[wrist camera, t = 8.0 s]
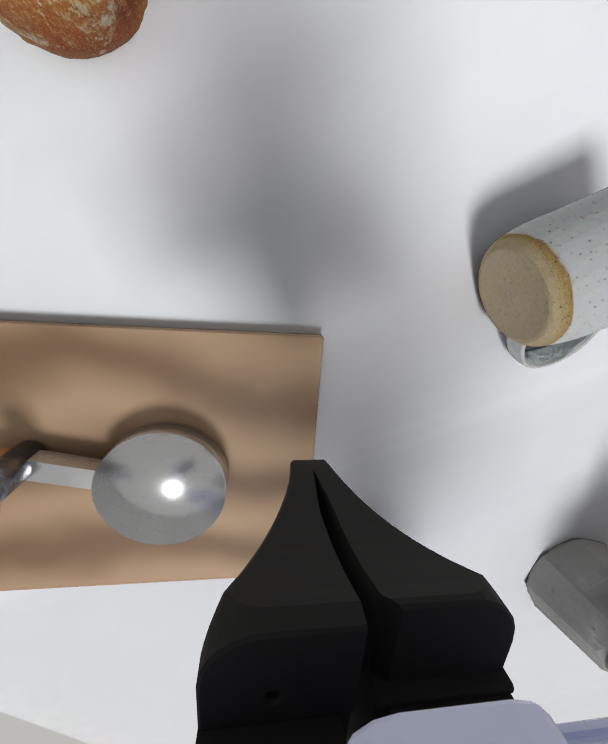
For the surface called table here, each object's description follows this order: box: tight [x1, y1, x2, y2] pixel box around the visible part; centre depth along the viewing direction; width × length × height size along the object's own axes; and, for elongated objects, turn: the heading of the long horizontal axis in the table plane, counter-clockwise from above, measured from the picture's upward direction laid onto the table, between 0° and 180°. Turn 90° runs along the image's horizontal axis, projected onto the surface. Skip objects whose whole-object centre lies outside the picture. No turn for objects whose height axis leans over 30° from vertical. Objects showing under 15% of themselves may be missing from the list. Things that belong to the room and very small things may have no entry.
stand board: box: [0, 320, 323, 591], centre depth 21 cm, size 20×23×4 cm
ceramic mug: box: [478, 187, 608, 368], centre depth 18 cm, size 11×8×8 cm
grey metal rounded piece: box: [0, 422, 229, 545], centre depth 18 cm, size 14×8×5 cm, turn 75°
